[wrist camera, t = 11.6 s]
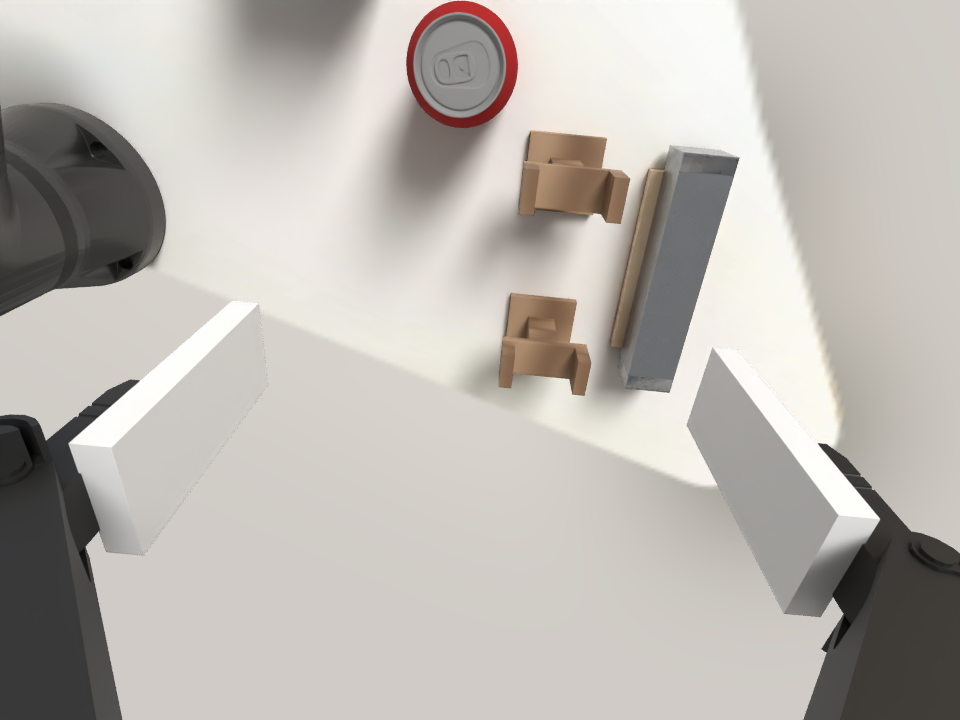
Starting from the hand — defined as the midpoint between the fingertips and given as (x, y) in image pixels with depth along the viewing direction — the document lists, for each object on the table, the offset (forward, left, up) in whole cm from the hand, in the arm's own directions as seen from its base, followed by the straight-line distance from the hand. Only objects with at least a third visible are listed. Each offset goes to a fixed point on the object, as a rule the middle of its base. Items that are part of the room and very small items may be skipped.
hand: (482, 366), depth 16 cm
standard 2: (+5, +1, -33) cm, 33 cm away
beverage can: (-3, +8, -33) cm, 34 cm away
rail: (+15, -6, -32) cm, 36 cm away
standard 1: (+5, -13, -33) cm, 36 cm away
